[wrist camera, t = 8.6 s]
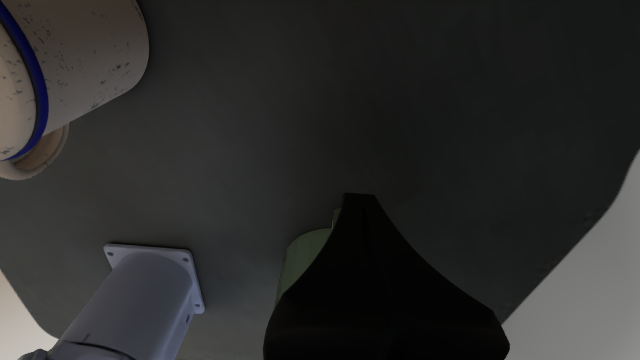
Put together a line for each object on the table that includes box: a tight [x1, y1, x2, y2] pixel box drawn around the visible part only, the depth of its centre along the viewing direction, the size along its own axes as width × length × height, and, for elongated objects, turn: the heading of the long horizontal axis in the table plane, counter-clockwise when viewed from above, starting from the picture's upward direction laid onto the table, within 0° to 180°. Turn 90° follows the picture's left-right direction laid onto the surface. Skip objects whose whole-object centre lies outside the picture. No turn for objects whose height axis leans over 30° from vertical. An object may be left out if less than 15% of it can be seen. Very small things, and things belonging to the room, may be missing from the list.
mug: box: [274, 208, 341, 309], centre depth 24 cm, size 12×9×8 cm
